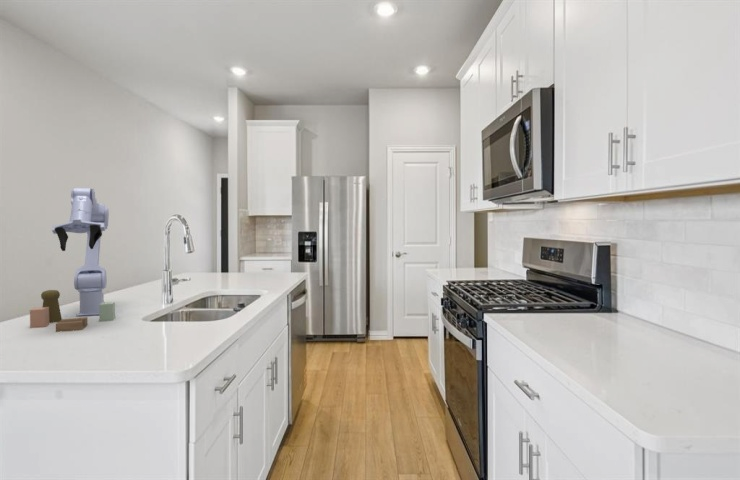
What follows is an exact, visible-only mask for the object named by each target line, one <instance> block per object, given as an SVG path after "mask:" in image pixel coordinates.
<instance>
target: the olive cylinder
mask: <svg viewBox="0 0 740 480" xmlns="http://www.w3.org/2000/svg"><path fill="white" fill-rule="evenodd" d="M60 295H61V293H60V292H59V290H58V289H57V290H56V289H49V290H44V291H42V292H41V296H40V297H41V299H42V307H49V324H52V323H57V322H59V321H60V320H62V319H63V318H62V313H61V307H60V303H59V298H60Z"/></svg>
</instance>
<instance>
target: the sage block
mask: <svg viewBox="0 0 740 480" xmlns="http://www.w3.org/2000/svg"><path fill="white" fill-rule="evenodd" d="M99 313H100V315H99V322H108V321H109V322H110V321H114V320H115V319H116V302H115V301H108V302H106V301H105V302H104V303H101V304H100V305H99Z"/></svg>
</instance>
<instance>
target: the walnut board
mask: <svg viewBox="0 0 740 480" xmlns="http://www.w3.org/2000/svg"><path fill="white" fill-rule="evenodd" d="M88 321H89V319H88V316H87V317H75V318H74V317H71V318H70V317H69V318H62V320H60V321H59V322H55V333H59V332H60V331H62V332H72V331H73V330H74V331H73V332H75V331H82V330H84V329H85V328H86V327H87V326H88V325H89V323H88ZM60 333H61V332H60Z"/></svg>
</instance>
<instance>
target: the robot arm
mask: <svg viewBox="0 0 740 480" xmlns="http://www.w3.org/2000/svg"><path fill="white" fill-rule="evenodd" d="M70 198H71V199H70V204H71V207H70V209H71V211H70V218H69V222H64V223H61V224H57V225H52V226H51V227H52V228H51V232H52V233H53V234H54V235H57V238H58V240H59V245H60V246H59V247H60V249H61V252H66V250H67V249H66V247H67V241H68V239H69V235H68V234H67V233H73V234H74V233H75V234H85V233H86V234H87V239H86V245H85V246H86V248H85V257H84V258H85V259H84V265H82V266H81V267H79V268H77V269H76V271H75V274H74V276H73V277H74V278H73V279H74V280H73V286H74V289H75V290H76V291H77V292H79V312H78V313H77V314H76V315H75V316H76V317H83V316H97V315H98V316H100V313H99V305H100V304H101V303H104V298H105V296H104V295H105V294H104V292H103V290H104V289H105V288H107V271H106V269H105V268H104V267H103V266H101V265H100V253H101V252H100V250H101V239H102V236H103V231H104V232H105V231H106V230H107V229H108V227H109V216H110V214H109V213H110V211H109V208H108V206H106V205H105V204H103V203H100V202H98V200H97V198H96V192H95V189H94V188H89V187H88V188H87V187H74V188H72V189H71V192H70Z"/></svg>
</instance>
